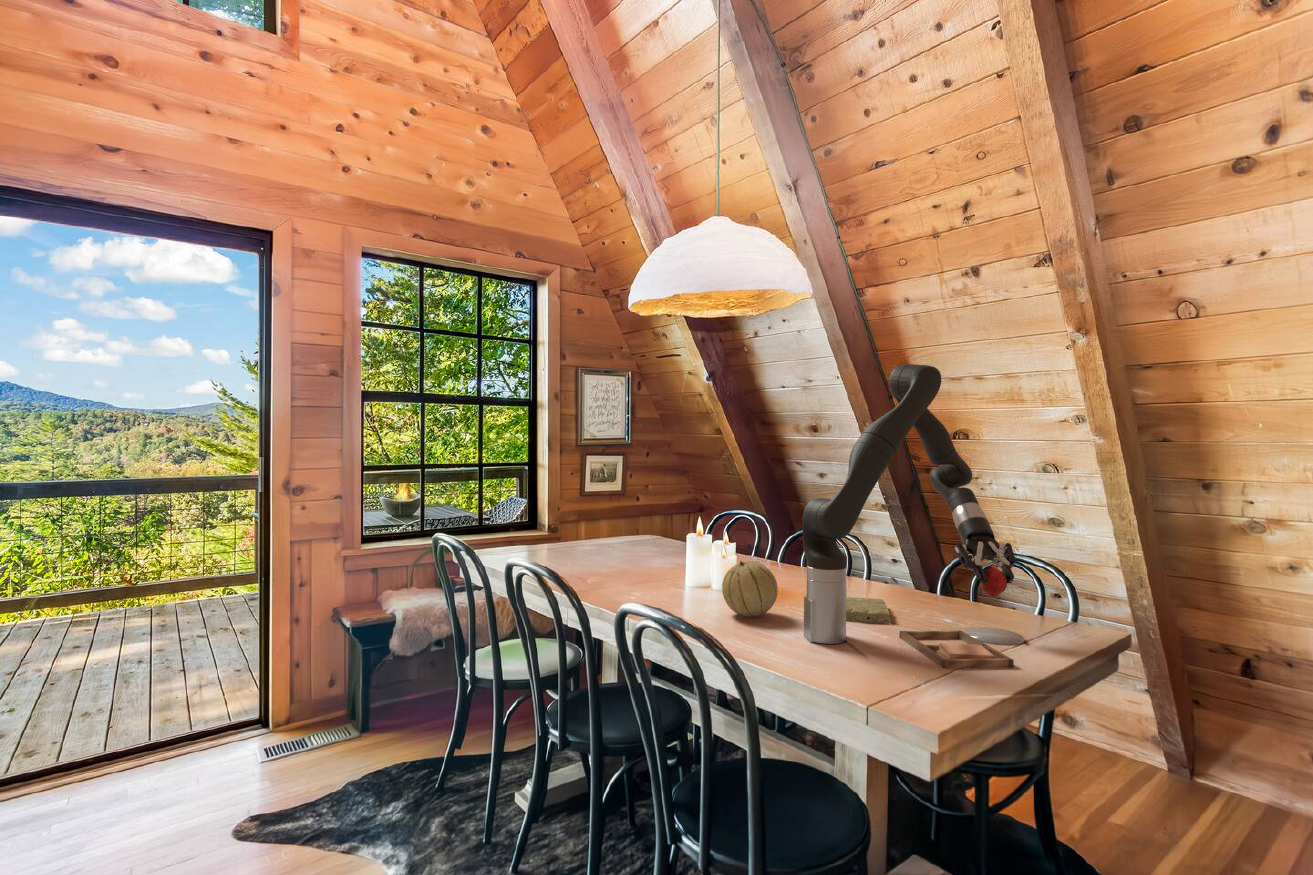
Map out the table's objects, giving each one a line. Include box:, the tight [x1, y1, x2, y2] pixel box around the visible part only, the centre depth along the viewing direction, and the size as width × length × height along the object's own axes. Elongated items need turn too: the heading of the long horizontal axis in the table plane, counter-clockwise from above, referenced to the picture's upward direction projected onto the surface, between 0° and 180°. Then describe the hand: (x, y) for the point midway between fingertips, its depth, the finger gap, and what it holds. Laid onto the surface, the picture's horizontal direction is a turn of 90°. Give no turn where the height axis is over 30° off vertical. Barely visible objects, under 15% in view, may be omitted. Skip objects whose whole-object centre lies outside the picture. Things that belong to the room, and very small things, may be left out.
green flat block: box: [846, 596, 892, 625], centre depth 191 cm, size 19×20×4 cm
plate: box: [963, 626, 1025, 646], centre depth 167 cm, size 13×13×1 cm
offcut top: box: [938, 643, 994, 659], centre depth 150 cm, size 9×7×1 cm
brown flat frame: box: [899, 630, 1014, 669], centre depth 156 cm, size 15×22×2 cm
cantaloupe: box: [721, 560, 779, 618], centre depth 187 cm, size 15×15×15 cm
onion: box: [979, 563, 1008, 598], centre depth 168 cm, size 6×6×8 cm
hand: (997, 581), depth 166 cm, fingers closed on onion, 6 cm apart
